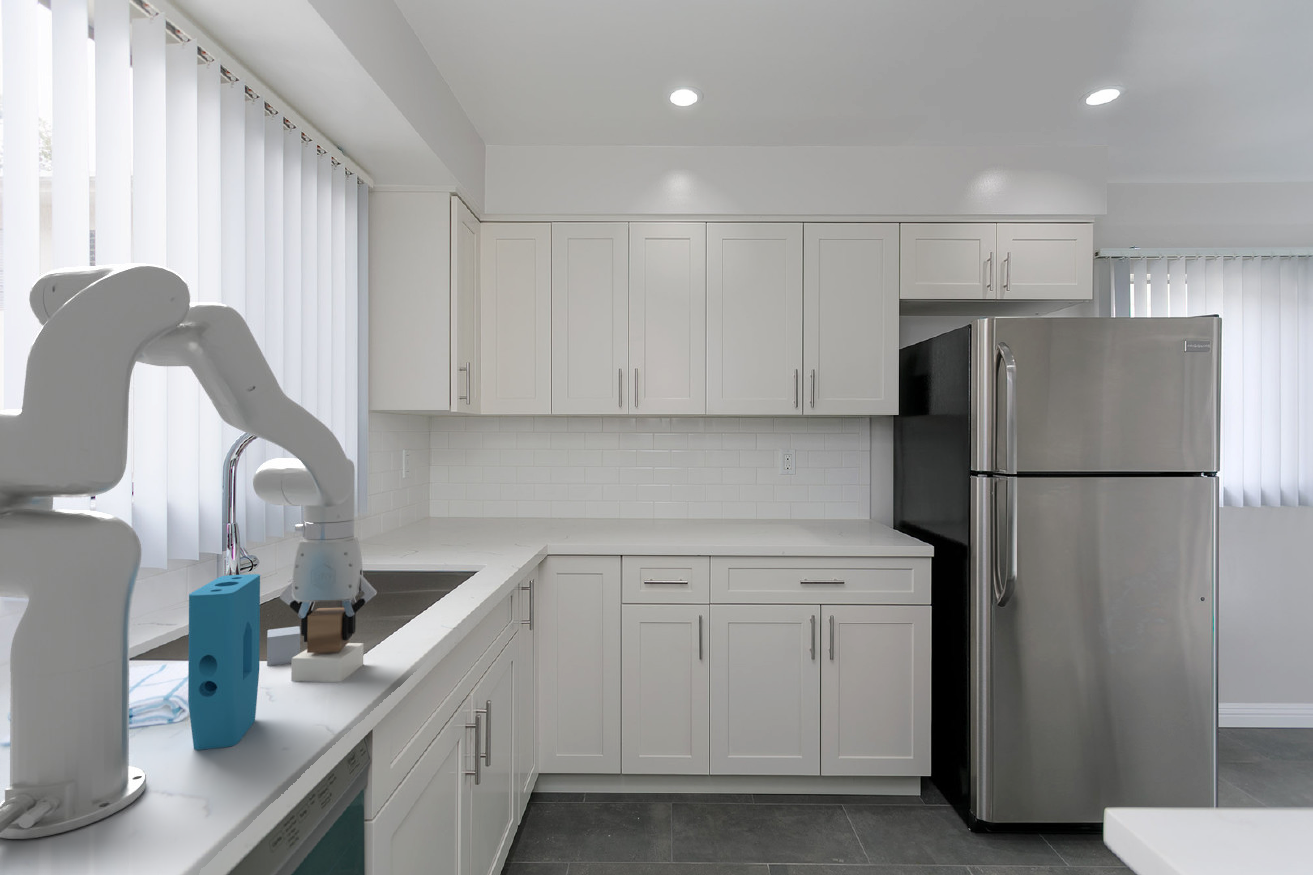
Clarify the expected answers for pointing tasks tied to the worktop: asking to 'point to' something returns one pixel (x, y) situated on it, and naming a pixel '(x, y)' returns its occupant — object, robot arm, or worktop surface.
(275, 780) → the worktop surface
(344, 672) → the limestone block
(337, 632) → the walnut block
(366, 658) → the worktop surface
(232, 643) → the block
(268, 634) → the slate cube
